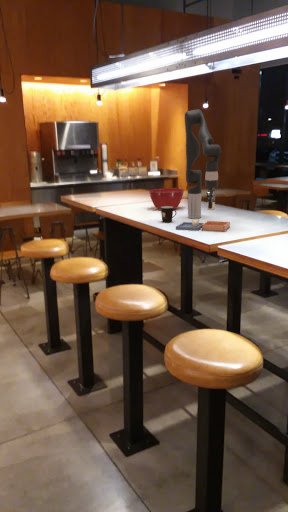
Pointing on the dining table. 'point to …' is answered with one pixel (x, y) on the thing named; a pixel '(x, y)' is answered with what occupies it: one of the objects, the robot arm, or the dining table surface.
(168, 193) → the mixing bowl
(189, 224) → the parts tray
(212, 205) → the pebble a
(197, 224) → the pebble
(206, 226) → the wooden tray
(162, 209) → the coffee mug
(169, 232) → the dining table surface
